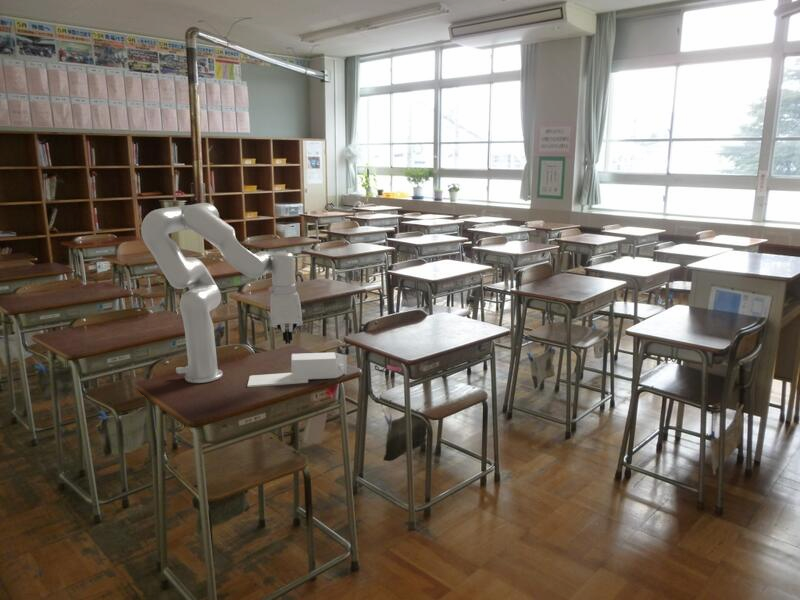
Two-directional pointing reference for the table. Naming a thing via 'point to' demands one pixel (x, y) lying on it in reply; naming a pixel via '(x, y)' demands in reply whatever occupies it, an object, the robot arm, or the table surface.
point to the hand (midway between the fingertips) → (288, 342)
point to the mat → (273, 380)
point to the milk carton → (318, 365)
